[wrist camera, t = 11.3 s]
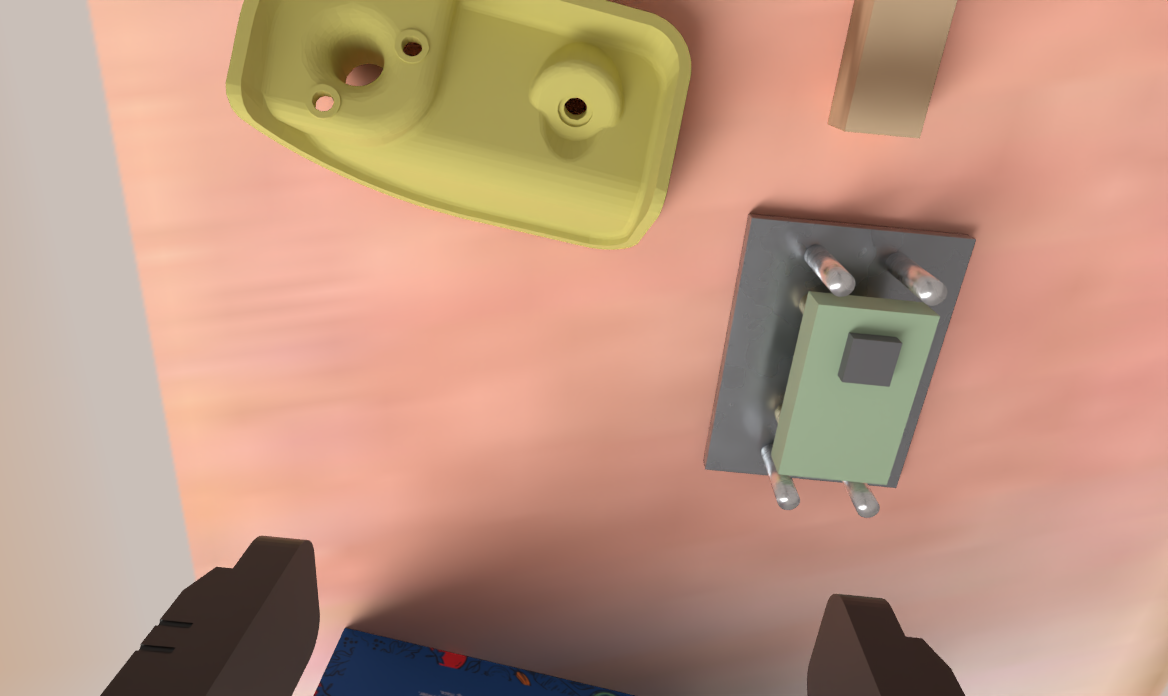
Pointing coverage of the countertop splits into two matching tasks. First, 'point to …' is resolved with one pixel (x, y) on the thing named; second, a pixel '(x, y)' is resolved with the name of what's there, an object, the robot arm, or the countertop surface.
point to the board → (851, 386)
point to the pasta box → (431, 673)
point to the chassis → (774, 314)
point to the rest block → (890, 65)
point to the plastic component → (477, 105)
